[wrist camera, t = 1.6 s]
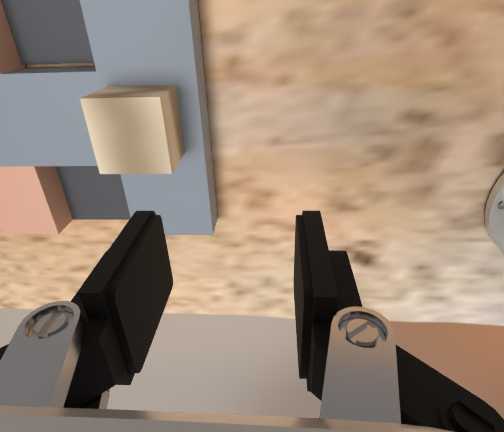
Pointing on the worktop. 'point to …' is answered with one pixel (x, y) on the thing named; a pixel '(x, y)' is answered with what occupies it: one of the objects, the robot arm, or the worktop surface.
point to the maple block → (135, 129)
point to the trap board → (73, 120)
